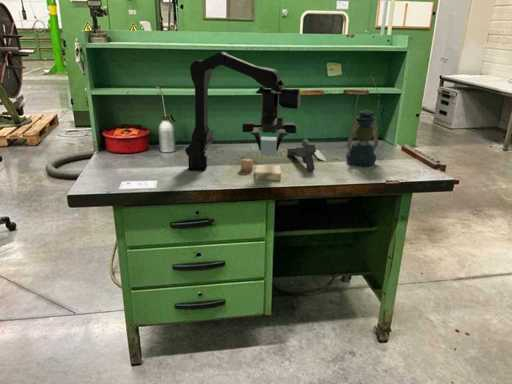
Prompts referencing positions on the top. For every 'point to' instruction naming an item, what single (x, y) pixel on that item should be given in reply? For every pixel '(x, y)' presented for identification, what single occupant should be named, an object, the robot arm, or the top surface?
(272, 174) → the beech slab
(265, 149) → the blue-grey cube
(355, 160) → the lantern
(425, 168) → the top surface
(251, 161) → the orange-tan rounded lump
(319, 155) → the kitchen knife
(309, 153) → the handgun
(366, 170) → the top surface
